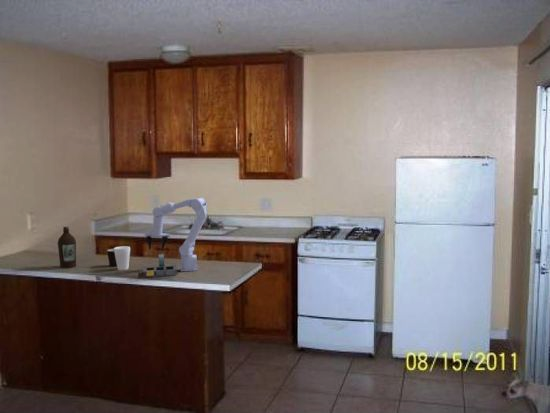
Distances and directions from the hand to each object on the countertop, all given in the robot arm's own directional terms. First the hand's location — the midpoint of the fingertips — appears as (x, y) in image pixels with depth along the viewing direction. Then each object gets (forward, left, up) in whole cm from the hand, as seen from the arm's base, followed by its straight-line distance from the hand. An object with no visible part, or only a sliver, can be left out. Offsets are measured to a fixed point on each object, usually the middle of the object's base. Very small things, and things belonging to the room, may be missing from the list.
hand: (156, 248), depth 345 cm
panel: (-3, 0, -12) cm, 13 cm away
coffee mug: (+24, -17, -13) cm, 32 cm away
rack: (-2, +14, -12) cm, 19 cm away
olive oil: (+54, -22, -13) cm, 60 cm away
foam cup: (+20, -6, -13) cm, 25 cm away
